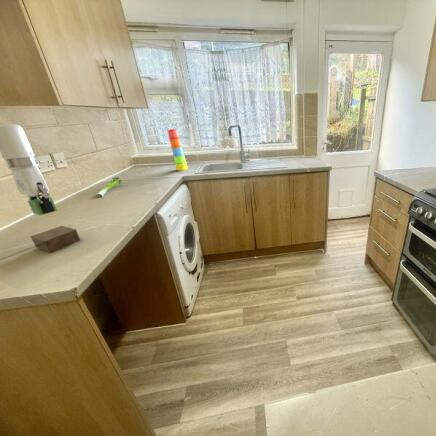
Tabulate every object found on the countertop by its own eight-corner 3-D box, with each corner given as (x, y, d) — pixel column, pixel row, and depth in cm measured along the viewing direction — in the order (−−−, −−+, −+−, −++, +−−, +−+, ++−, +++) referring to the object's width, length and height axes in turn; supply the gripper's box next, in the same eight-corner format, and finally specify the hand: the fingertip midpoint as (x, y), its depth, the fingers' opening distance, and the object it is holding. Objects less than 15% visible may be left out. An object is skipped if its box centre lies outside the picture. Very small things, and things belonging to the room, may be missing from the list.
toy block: (40, 215, 88) (34, 202, 86) (33, 213, 90) (27, 200, 88) (57, 210, 93) (51, 198, 91) (50, 208, 94) (44, 196, 92)
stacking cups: (191, 170, 216) (181, 128, 202) (180, 172, 209) (169, 130, 195) (184, 168, 222) (175, 128, 208) (174, 171, 215) (163, 130, 201)
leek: (94, 200, 151) (114, 183, 177) (107, 200, 153) (124, 183, 179) (91, 191, 148) (112, 175, 174) (104, 191, 150) (123, 175, 176)
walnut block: (50, 253, 90) (44, 241, 88) (35, 247, 94) (29, 236, 92) (80, 240, 99) (76, 229, 97) (66, 236, 103) (61, 225, 101)
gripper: (-5, 163, 84) (20, 212, 91) (20, 166, 78) (45, 218, 85) (24, 159, 90) (45, 205, 98) (49, 162, 84) (70, 210, 91)
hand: (45, 211), depth 91 cm, fingers closed on toy block, 5 cm apart
